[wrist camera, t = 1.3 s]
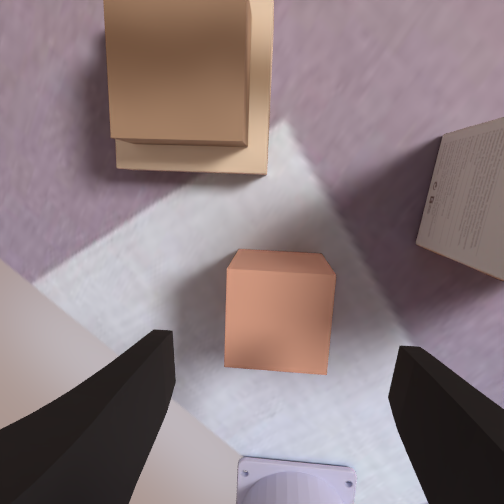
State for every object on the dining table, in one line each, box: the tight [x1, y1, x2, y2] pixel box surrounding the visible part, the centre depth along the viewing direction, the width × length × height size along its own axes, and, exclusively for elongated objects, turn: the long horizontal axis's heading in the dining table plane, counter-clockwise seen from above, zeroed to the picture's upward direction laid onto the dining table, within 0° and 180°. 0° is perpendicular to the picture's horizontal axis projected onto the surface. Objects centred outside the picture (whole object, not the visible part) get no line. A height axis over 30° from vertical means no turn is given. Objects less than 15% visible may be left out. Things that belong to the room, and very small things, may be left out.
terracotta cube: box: [224, 249, 336, 375], centre depth 18 cm, size 5×5×5 cm
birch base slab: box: [115, 0, 274, 175], centre depth 18 cm, size 8×8×2 cm
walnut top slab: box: [103, 0, 252, 147], centre depth 15 cm, size 6×6×2 cm
